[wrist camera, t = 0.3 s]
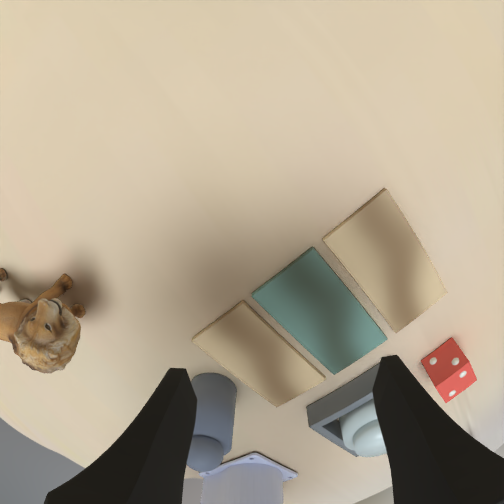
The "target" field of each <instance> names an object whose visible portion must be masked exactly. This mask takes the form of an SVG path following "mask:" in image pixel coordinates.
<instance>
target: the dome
mask: <svg viewBox="0 0 504 504" xmlns="http://www.w3.org/2000/svg"><path fill="white" fill-rule="evenodd" d="M339 422H340V427H341V432H342V436H343V441H344V445H345V446H346V447H347V448H348V449H350V450H353V451H355V452H356V454H357V455H359V456H362V457H374V456H379V455H383V454H385V453H387V451H386V447H385V444H384V440H383V437H382V433H381V429H380V426H379V422H378V419H377V415H376V410H375V405H374V398H373V399H371V400H369V401H368V402H366V403H364V404H362V405H361V406H359V407H357V408H355V409H354V410H352V411H350V412H348V413H346V414H345V415H343V416H341V417H339Z"/></svg>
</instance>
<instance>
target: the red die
mask: <svg viewBox="0 0 504 504" xmlns="http://www.w3.org/2000/svg"><path fill="white" fill-rule="evenodd" d="M421 362H422V364H423V366H424V367H425V369H426V371H427V373H428V375H429V377H430V378H431V380H432V382H433V384H434V386H435V388H436V389H437V391H438V392H439V394H440V395H441V397H442V398H443V400H444V401H445V403H447V402H448V401H450V400H451V399H453V398H454V397H455V396H457V395H458V394H459V393H461V392H462V391H464V390H465V389H466V388H467V387H469V386H470V385H471V384H473V383H474V382H475V381H476V380H477V379H476V376H475V374H474V371H473V369H472V367H471V364H470V362H469V360H468V359H467V358H466V356H465V355H464V353H463V352H462V351H461V349H460V348H459V346H458V345H457V344H456V342H455V341H454V340H453V338H452V337H451V338H450V339H449V340H448V341H446V342H445V343H444V344H443V345H441V346H440V347H439V348H437V349H436V350H435V351H433V352H432V353H431V354H429V355H428V356H427V357H425V358H424V359H423V360H421Z"/></svg>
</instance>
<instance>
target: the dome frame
mask: <svg viewBox="0 0 504 504" xmlns="http://www.w3.org/2000/svg"><path fill="white" fill-rule="evenodd" d="M379 365H380V363H379V364H377V365H376V366H374V367H373V368H371V369H370V370H368V371H366V372H365V373H363V374H362V375H360V376H359V377H357V378H355V379H354V380H352V381H351V382H349V383H347V384H346V385H344V386H342V387H341V388H339V389H337V390H336V391H334V392H332V393H330V394H329V395H327V396H325V397H323V398H322V399H320V400H318V401H316V402H314V403H313V404H311V405H309V406H307V415H308V423H309V427H310V428H312V429H313V430H315V431H316V432H318V433H319V434H321V435H322V436H324V437H325V438H327V439H328V440H330V441H331V442H333V443H335V444H336V445H338V446H339V447H341V448H343V449H344V450H346V451H348V452H349V453H351V454H352V455H354V456H356V457H357V456H359V455H357V454H356V452H355V451H353V450H350V449H348V448H347V447H346V446H345V445H344V441H343V436H342V432H341V427H340V422H338V421H337V420H336V419H337V418H339V417H341V416H343V415H345V414H346V413H348V412H350V411H352V410H354V409H355V408H357V407H359V406H361V405H362V404H364V403H366V402H368V401H369V400H371V399H373V392H372V389H373V386H374V382H375V379H376V376H377V372H378V369H379Z"/></svg>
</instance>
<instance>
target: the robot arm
mask: <svg viewBox="0 0 504 504" xmlns="http://www.w3.org/2000/svg"><path fill="white" fill-rule="evenodd" d="M372 392H373V398H374V405H375V410H376V415H377V419H378V422H379V426H380V429H381V433H382V437H383V440H384V444H385V447H386V451H387V455H388V459H389V463H390V468H391V476H392V485H393V496H394V504H504V458H502V457H501V456H499V455H497V454H496V453H494V452H492V451H491V450H490V449H488V448H487V447H485V446H484V445H482V444H481V443H480V442H478V441H477V440H475V439H474V438H473V437H472V436H470V435H469V434H468V433H467V432H466V431H464V430H463V429H462V428H461V427H460V426H459V425H458V424H457V423H456V422H454V421H453V420H452V419H451V418H450V417H449V416H448V415H447V414H446V413H445V412H444V410H443V409H442V408H441V407H440V406H439V405H438V404H437V403H436V402H435V401H434V400H433V399H432V397H431V396H430V395H429V394H428V393H427V392H426V390H425V389H424V388H423V387H422V386H421V384H420V383H419V382H418V381H417V379H416V378H415V377H414V376H413V374H412V373H411V372H410V371H409V369H408V368H407V367H406V366H405V364H404V363H403V362H402V360H401V359H400V358H399V357H398V356H397V355H393V356H387V357H382V358H381V362H380V365H379V369H378V372H377V376H376V379H375V382H374V386H373V389H372ZM196 411H197V397H196V395H195V392H194V389H193V387H192V384H191V381H190V379H189V376H188V373H187V371H186V369H183V368H170V369H169V370H168V371H167V373H166V375H165V376H164V378H163V379H162V381H161V382H160V384H159V385H158V387H157V388H156V390H155V391H154V393H153V394H152V396H151V397H150V399H149V400H148V402H147V403H146V404H145V406H144V407H143V408H142V410H141V411H140V413H139V414H138V415H137V417H136V418H135V419H134V420H133V422H132V423H131V424H130V425H129V427H128V428H127V429H126V430H125V431H124V433H123V434H122V435H121V436H120V437H119V438H118V439H117V440H116V441H115V442H114V443H113V444H112V445H111V447H110V448H109V449H108V450H106V451H105V452H104V453H103V454H102V455H101V456H100V457H99V458H98V459H97V460H95V461H94V462H93V463H92V464H91V465H90V466H88V467H87V468H86V469H84V470H83V471H82V472H80V473H79V474H78V475H76V476H75V477H73V478H72V479H70V480H69V481H67V482H66V483H64V484H62V485H61V486H59V487H57V488H56V489H54V490H52V491H50V492H49V493H48V494H47V496H46V499H45V502H44V504H182V492H183V481H184V474H185V468H186V464H187V459H188V455H189V450H190V446H191V441H192V436H193V432H194V427H195V421H196ZM199 475H200V476H201V477H204V479H203V487H202V493H201V500H200V504H283V482H284V481H287V480H290V479H293V478H296V477H297V476H298V474H297V473H296V472H294V471H292V470H290V469H288V468H286V467H284V466H281V465H279V464H278V463H276V462H274V461H272V460H270V459H268V458H266V457H264V456H262V455H260V454H258V453H251V454H249V455H246V456H244V457H241V458H238V459H236V460H233V461H230V462H227V463H224V464H221V465H219V466H218V467H217V468H215V469H214V470H211V471H208V472H199Z"/></svg>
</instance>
